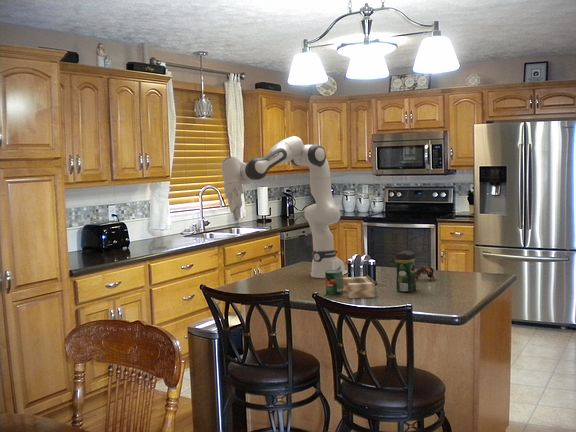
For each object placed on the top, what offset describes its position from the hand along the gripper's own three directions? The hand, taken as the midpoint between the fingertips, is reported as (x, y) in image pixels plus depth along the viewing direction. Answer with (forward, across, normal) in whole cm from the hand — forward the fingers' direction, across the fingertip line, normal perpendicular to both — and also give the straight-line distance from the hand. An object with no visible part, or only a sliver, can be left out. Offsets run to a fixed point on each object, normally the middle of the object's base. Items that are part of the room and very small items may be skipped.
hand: (237, 219), depth 292 cm
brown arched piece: (+42, +5, -90) cm, 100 cm away
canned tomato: (+42, -11, -38) cm, 58 cm away
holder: (+43, -13, -49) cm, 66 cm away
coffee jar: (+45, -15, -71) cm, 85 cm away
